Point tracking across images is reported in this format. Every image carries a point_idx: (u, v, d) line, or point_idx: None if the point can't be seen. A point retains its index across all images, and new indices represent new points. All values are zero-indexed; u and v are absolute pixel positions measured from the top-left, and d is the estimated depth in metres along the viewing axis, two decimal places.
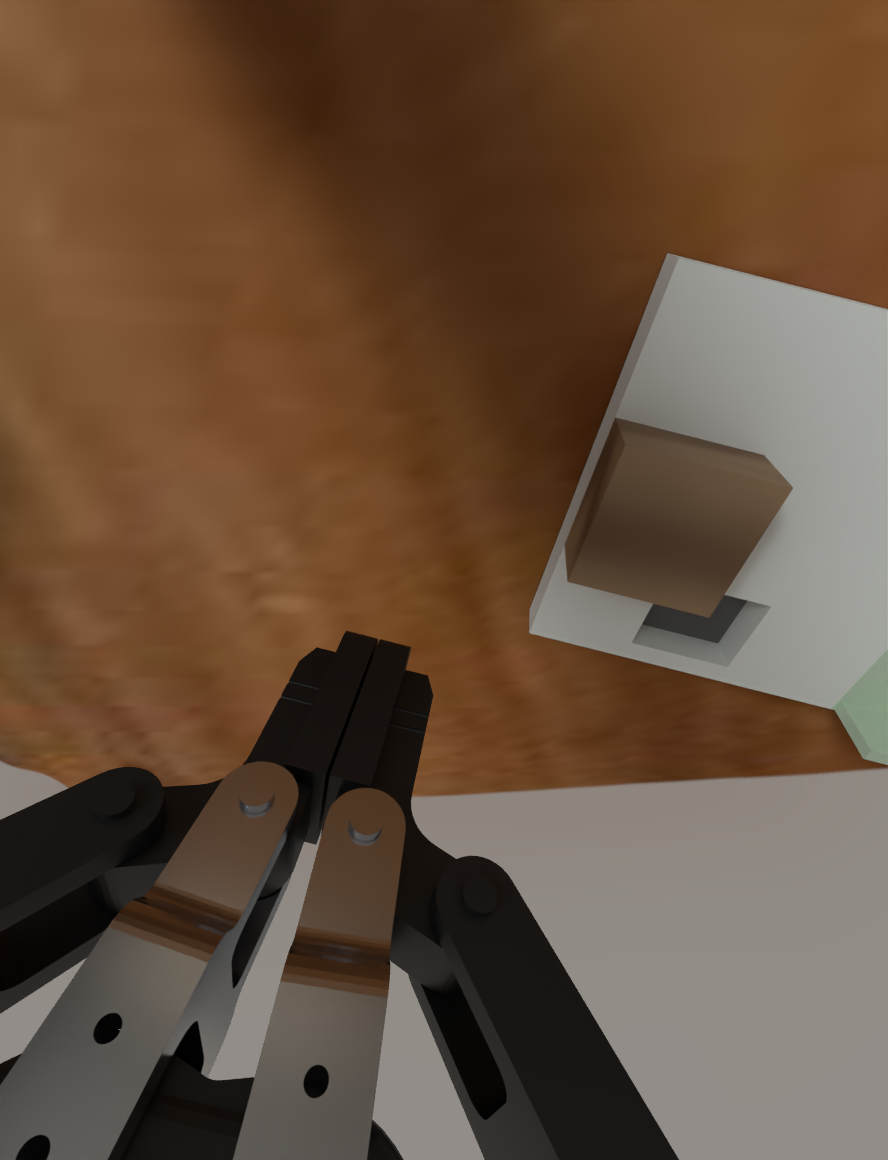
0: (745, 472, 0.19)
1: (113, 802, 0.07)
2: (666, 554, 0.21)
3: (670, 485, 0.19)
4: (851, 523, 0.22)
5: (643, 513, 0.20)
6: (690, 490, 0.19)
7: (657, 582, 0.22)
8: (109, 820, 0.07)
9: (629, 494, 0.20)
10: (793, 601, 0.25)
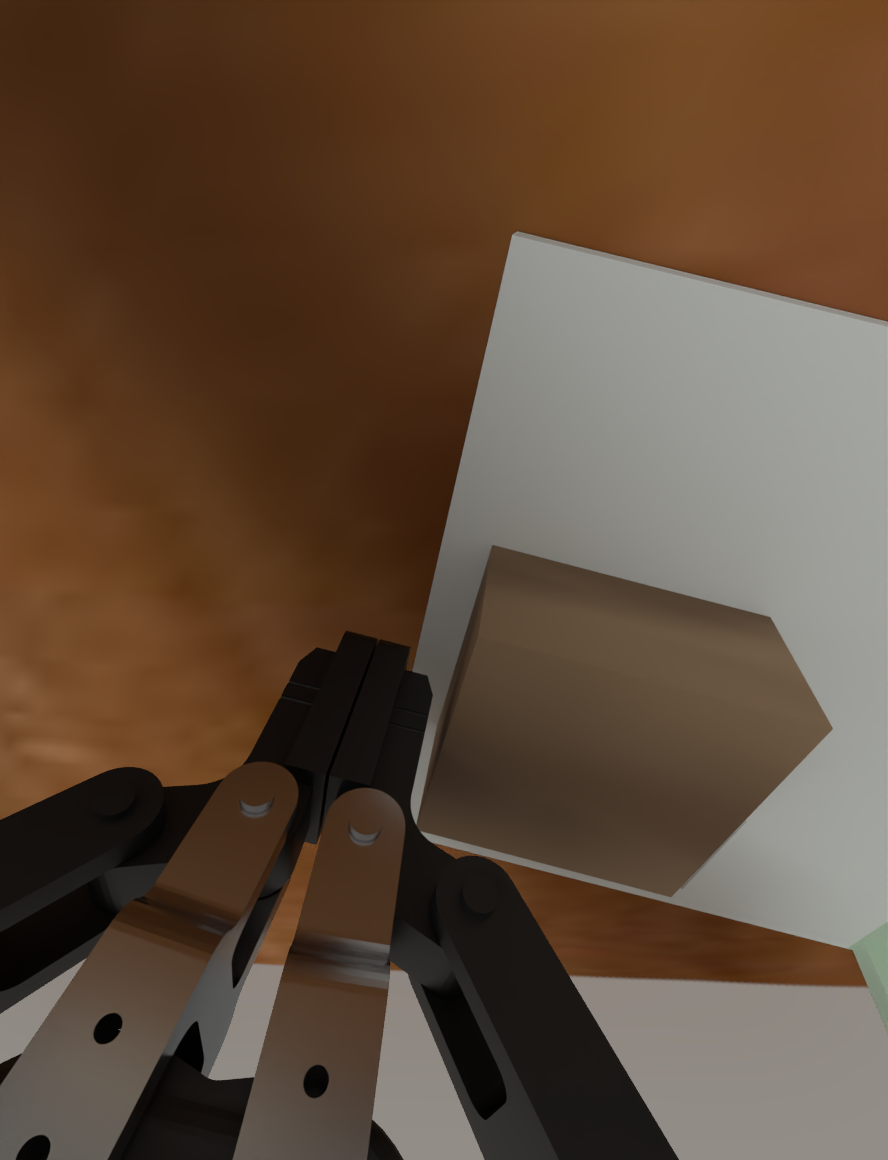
0: (732, 687, 0.09)
1: (112, 803, 0.07)
2: (583, 809, 0.11)
3: (577, 707, 0.10)
4: (883, 717, 0.12)
5: (532, 747, 0.10)
6: (621, 718, 0.10)
7: (573, 843, 0.12)
8: (109, 820, 0.07)
9: (501, 717, 0.10)
10: (782, 816, 0.15)
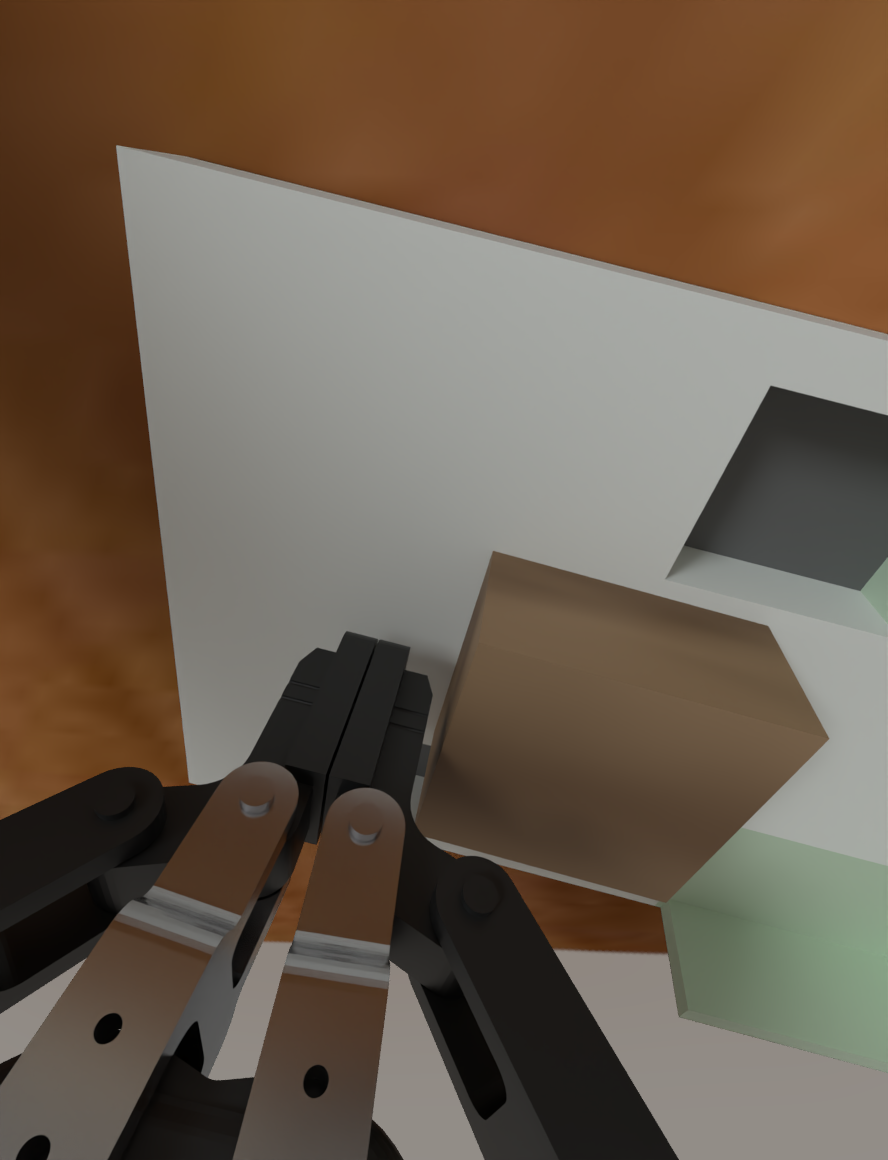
0: (730, 696, 0.09)
1: (112, 803, 0.07)
2: (580, 814, 0.11)
3: (577, 714, 0.10)
4: None
5: (529, 753, 0.10)
6: (618, 726, 0.10)
7: (569, 848, 0.12)
8: (109, 820, 0.07)
9: (500, 723, 0.10)
10: None
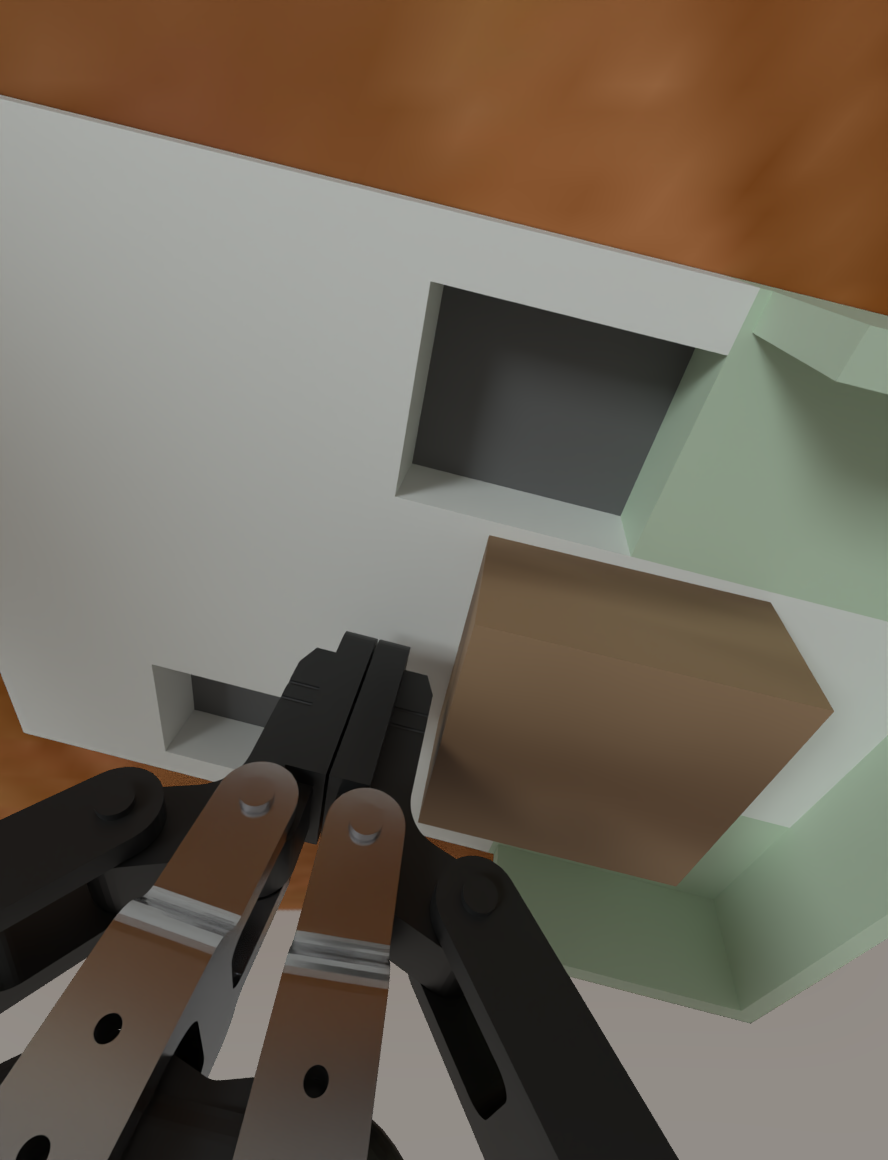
0: (731, 671, 0.09)
1: (112, 803, 0.07)
2: (585, 798, 0.11)
3: (576, 694, 0.09)
4: (368, 581, 0.13)
5: (531, 736, 0.10)
6: (620, 704, 0.09)
7: (576, 833, 0.12)
8: (109, 820, 0.07)
9: (500, 706, 0.10)
10: None
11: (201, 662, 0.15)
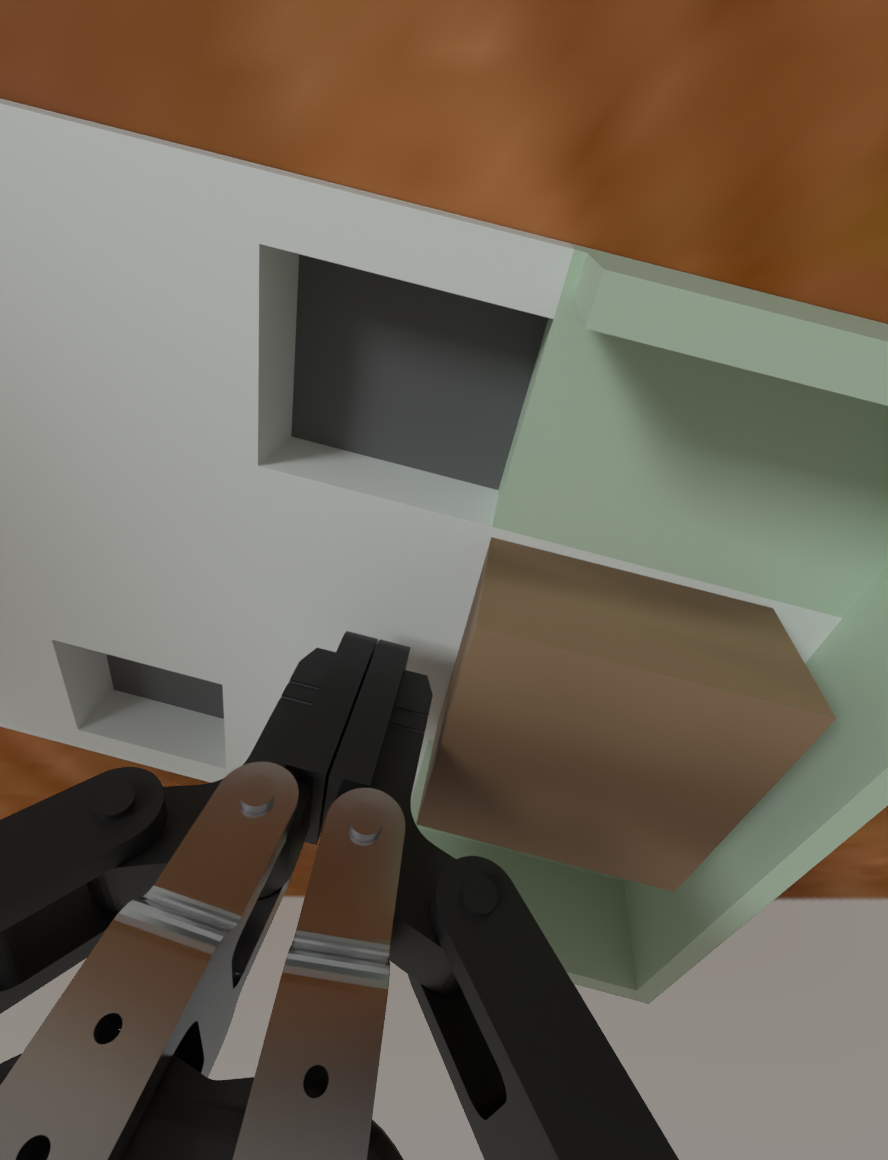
0: (733, 677, 0.09)
1: (113, 803, 0.07)
2: (585, 802, 0.11)
3: (577, 698, 0.09)
4: (245, 553, 0.13)
5: (531, 739, 0.10)
6: (620, 710, 0.09)
7: (575, 837, 0.12)
8: (109, 820, 0.07)
9: (501, 708, 0.10)
10: (246, 677, 0.15)
11: (98, 637, 0.15)
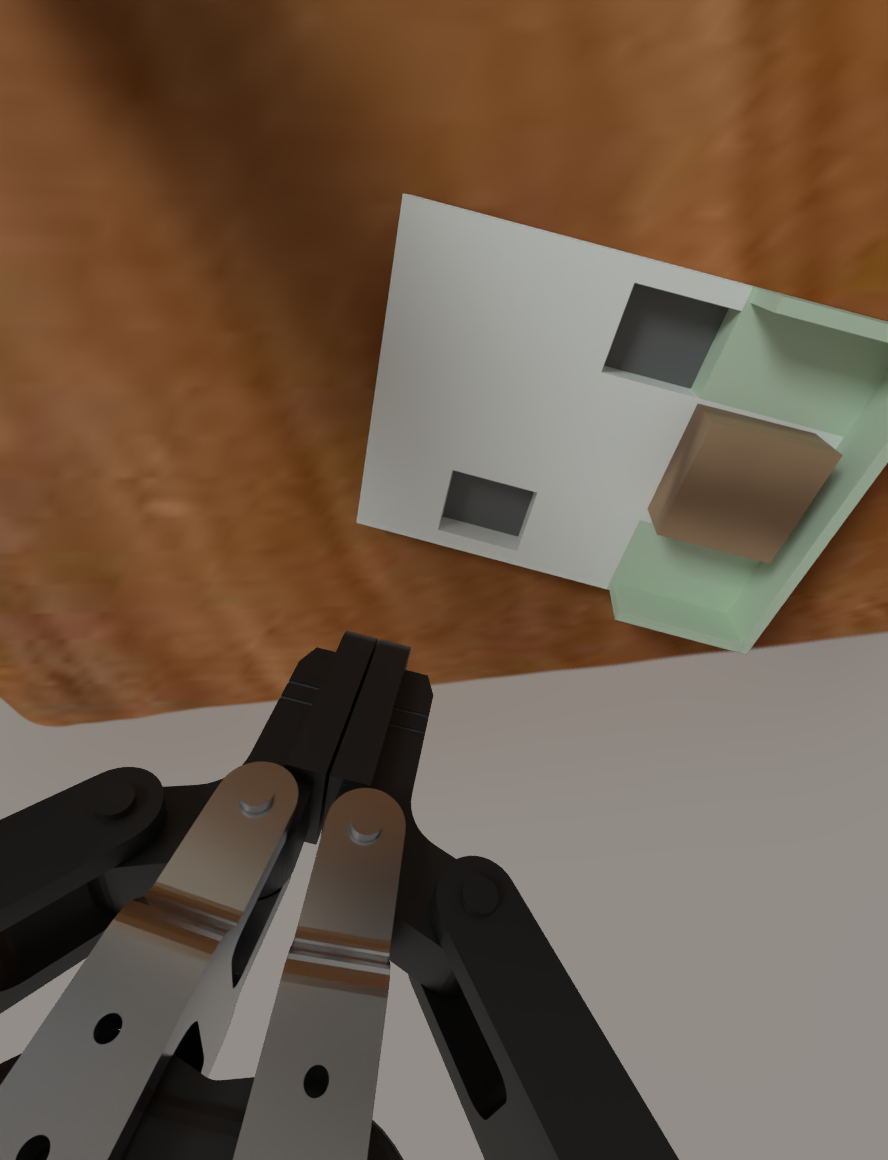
0: (805, 443, 0.25)
1: (112, 803, 0.07)
2: (738, 510, 0.27)
3: (746, 453, 0.25)
4: (579, 415, 0.28)
5: (722, 477, 0.26)
6: (762, 458, 0.25)
7: (730, 533, 0.27)
8: (109, 820, 0.07)
9: (713, 461, 0.25)
10: (553, 487, 0.31)
11: (480, 467, 0.30)
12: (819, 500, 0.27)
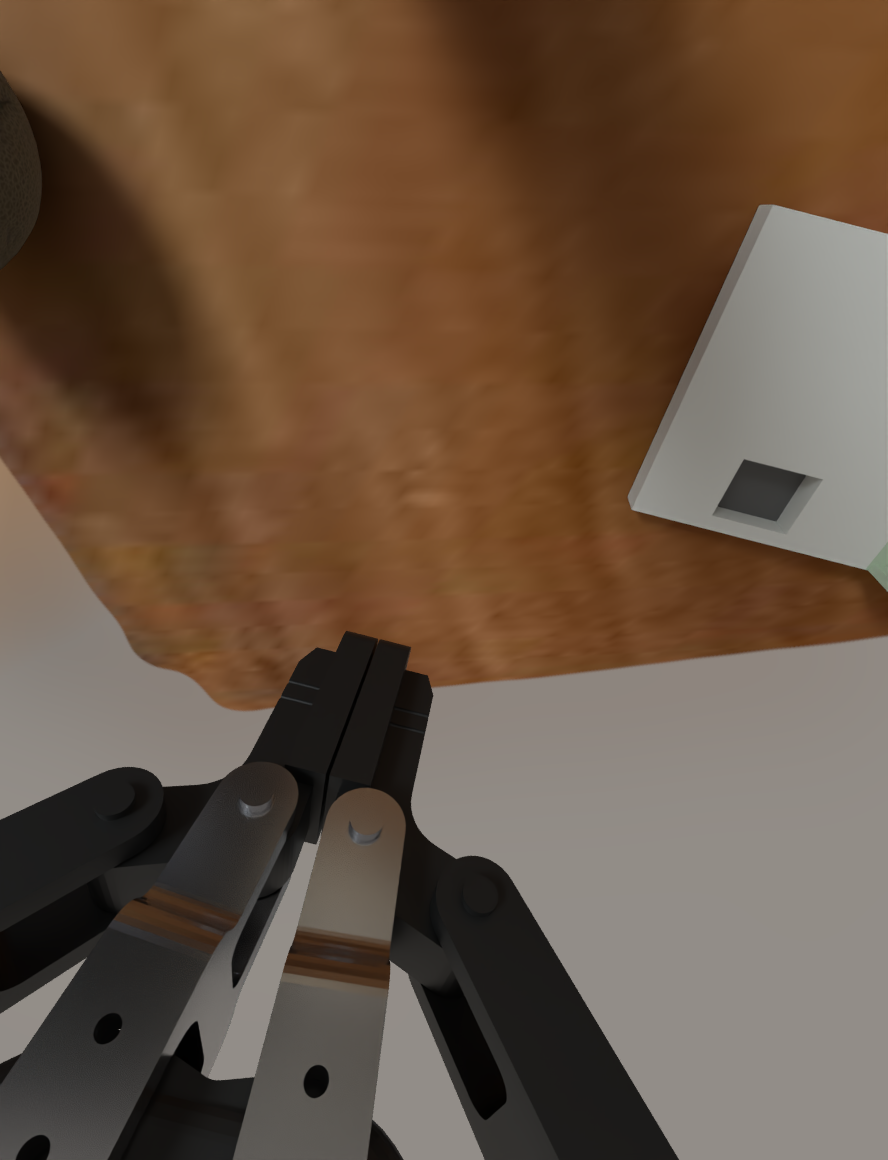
0: None
1: (113, 802, 0.07)
2: None
3: None
4: (886, 407, 0.30)
5: None
6: None
7: None
8: (109, 820, 0.07)
9: None
10: (840, 474, 0.33)
11: (772, 456, 0.33)
12: None
